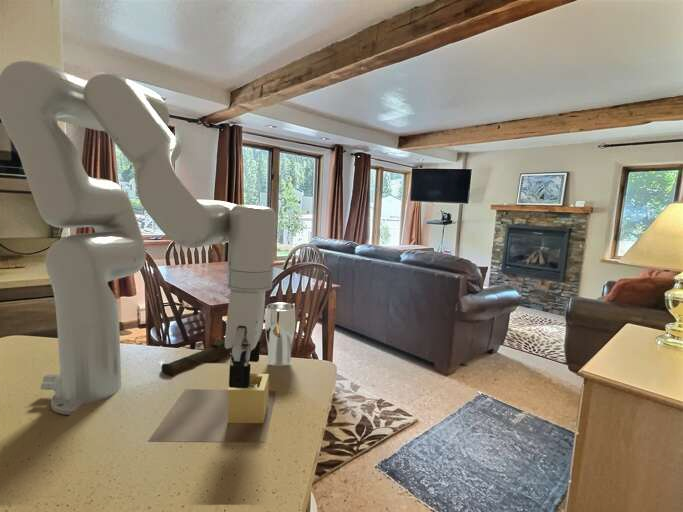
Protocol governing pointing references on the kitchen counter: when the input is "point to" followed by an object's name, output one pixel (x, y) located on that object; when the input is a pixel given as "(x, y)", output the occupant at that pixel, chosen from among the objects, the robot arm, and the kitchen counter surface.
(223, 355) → the hand tool
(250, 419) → the collar
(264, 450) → the kitchen counter surface
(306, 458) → the kitchen counter surface
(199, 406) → the post board
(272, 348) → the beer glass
